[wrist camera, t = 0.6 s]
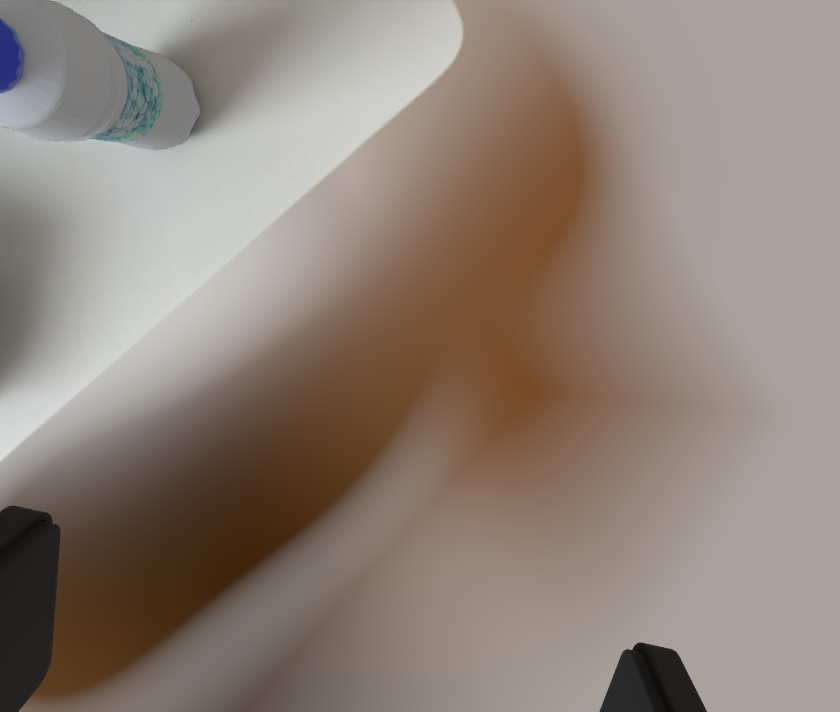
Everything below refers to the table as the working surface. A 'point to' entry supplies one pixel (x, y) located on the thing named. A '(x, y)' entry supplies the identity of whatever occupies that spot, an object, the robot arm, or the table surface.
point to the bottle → (87, 82)
